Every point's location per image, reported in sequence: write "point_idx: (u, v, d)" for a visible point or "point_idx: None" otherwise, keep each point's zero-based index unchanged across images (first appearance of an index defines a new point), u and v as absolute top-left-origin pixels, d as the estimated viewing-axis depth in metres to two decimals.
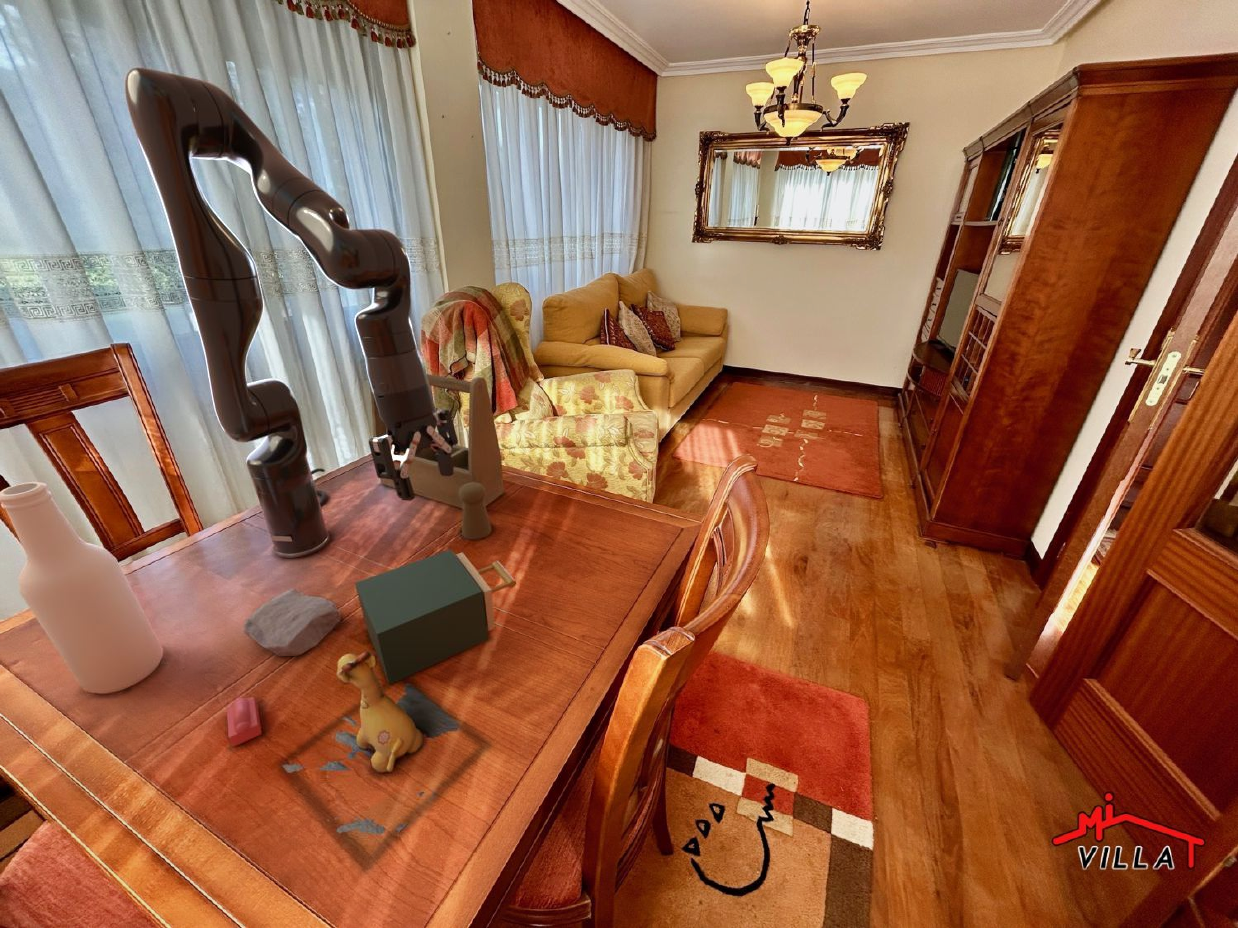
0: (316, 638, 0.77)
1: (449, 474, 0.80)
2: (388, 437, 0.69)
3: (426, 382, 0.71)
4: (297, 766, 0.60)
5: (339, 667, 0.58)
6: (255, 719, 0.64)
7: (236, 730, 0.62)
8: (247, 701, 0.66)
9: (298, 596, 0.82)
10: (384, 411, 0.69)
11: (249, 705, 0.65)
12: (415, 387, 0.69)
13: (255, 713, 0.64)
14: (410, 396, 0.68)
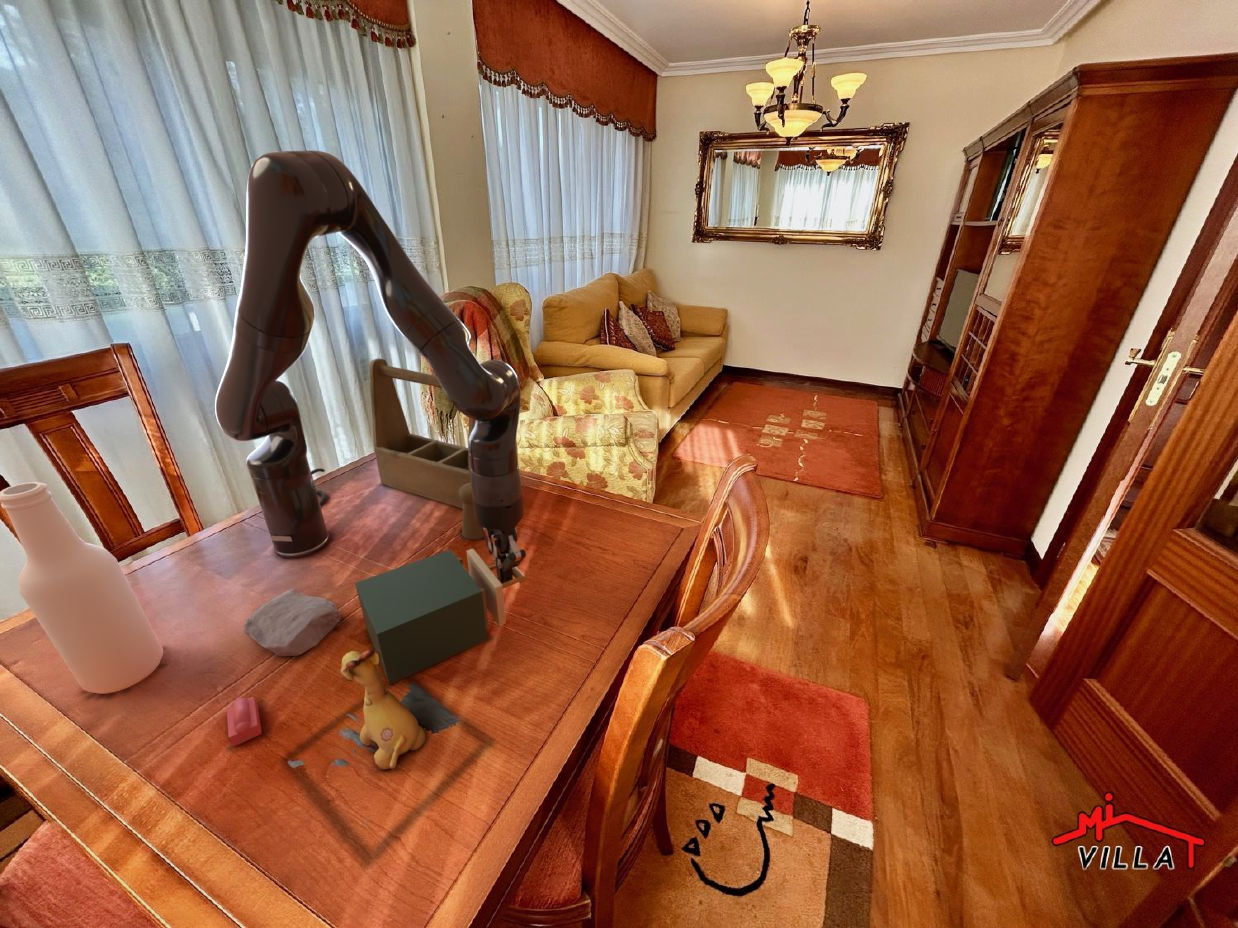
0: (316, 638, 0.77)
1: None
2: (516, 545, 0.77)
3: None
4: (301, 761, 0.61)
5: (343, 664, 0.58)
6: (255, 719, 0.64)
7: (236, 730, 0.62)
8: (247, 701, 0.66)
9: (297, 596, 0.82)
10: (508, 518, 0.76)
11: (249, 705, 0.65)
12: None
13: (255, 713, 0.64)
14: None
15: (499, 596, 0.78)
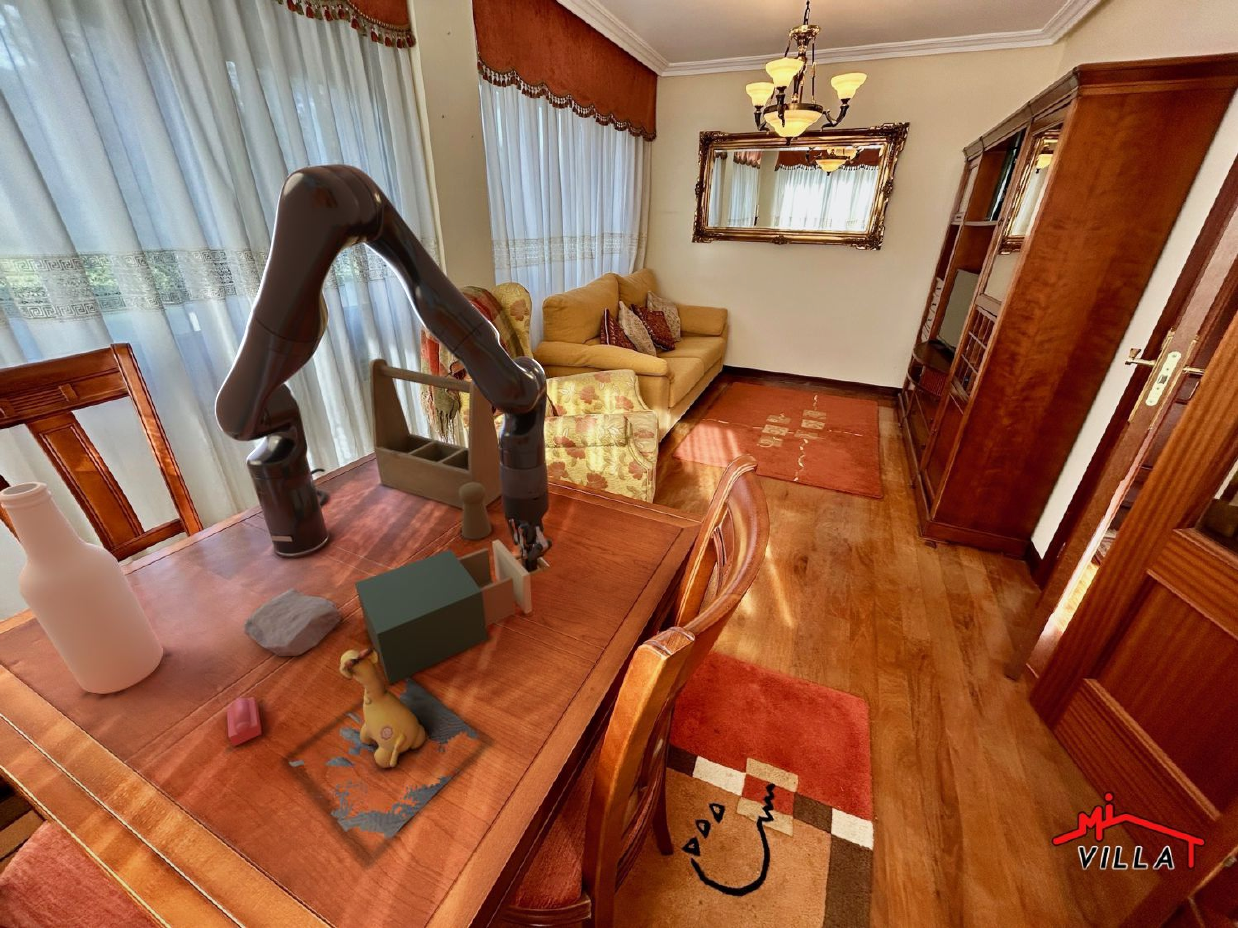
0: (316, 638, 0.77)
1: None
2: None
3: None
4: (302, 761, 0.61)
5: (342, 663, 0.58)
6: (255, 719, 0.64)
7: (236, 730, 0.62)
8: (247, 701, 0.66)
9: (297, 596, 0.82)
10: (535, 510, 0.78)
11: (249, 705, 0.65)
12: None
13: (255, 713, 0.64)
14: None
15: (526, 584, 0.81)
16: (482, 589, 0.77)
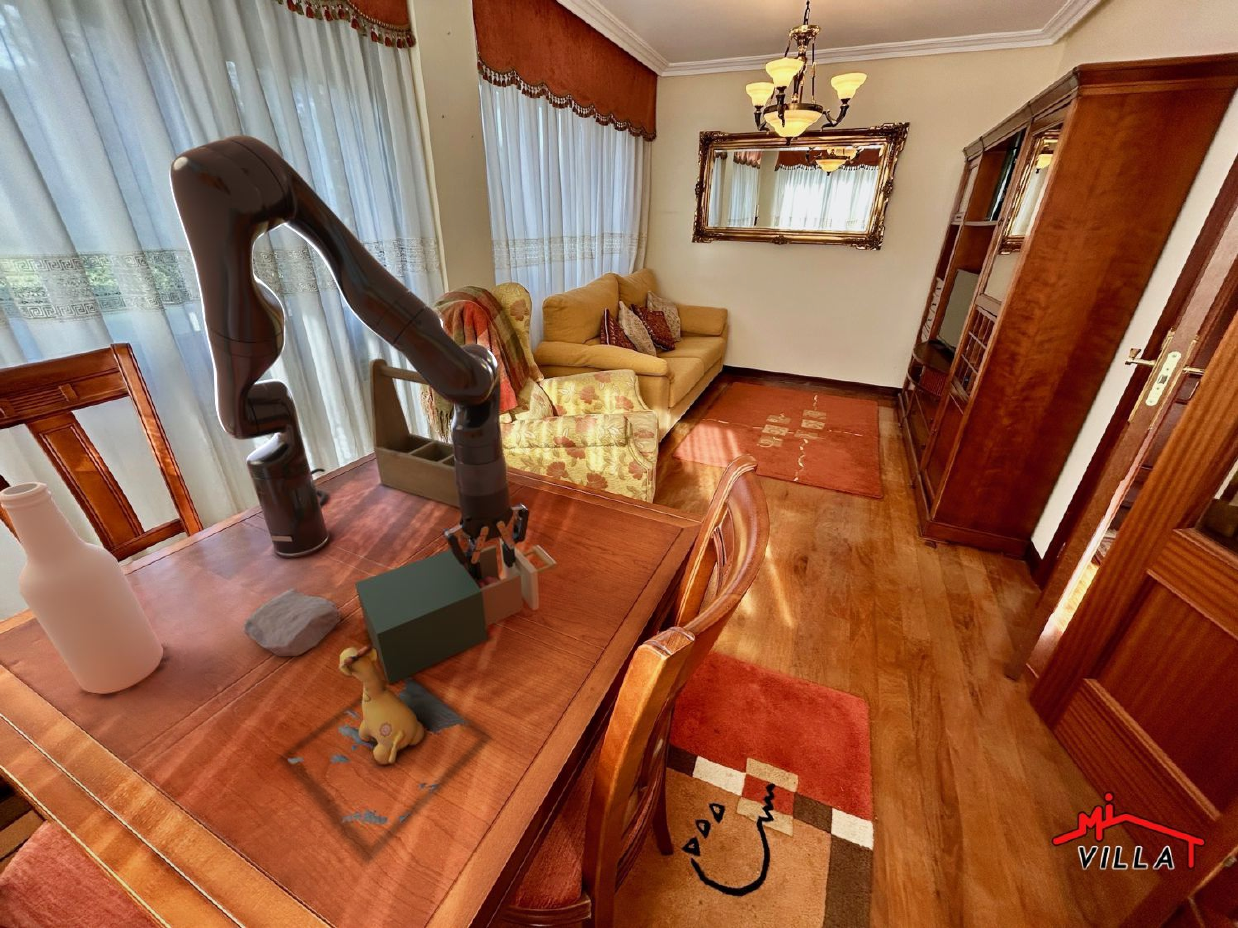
0: (315, 638, 0.77)
1: None
2: None
3: None
4: (300, 758, 0.61)
5: (341, 661, 0.58)
6: None
7: None
8: (493, 579, 0.86)
9: (297, 596, 0.82)
10: None
11: (495, 581, 0.85)
12: None
13: None
14: None
15: (534, 581, 0.81)
16: (490, 586, 0.78)
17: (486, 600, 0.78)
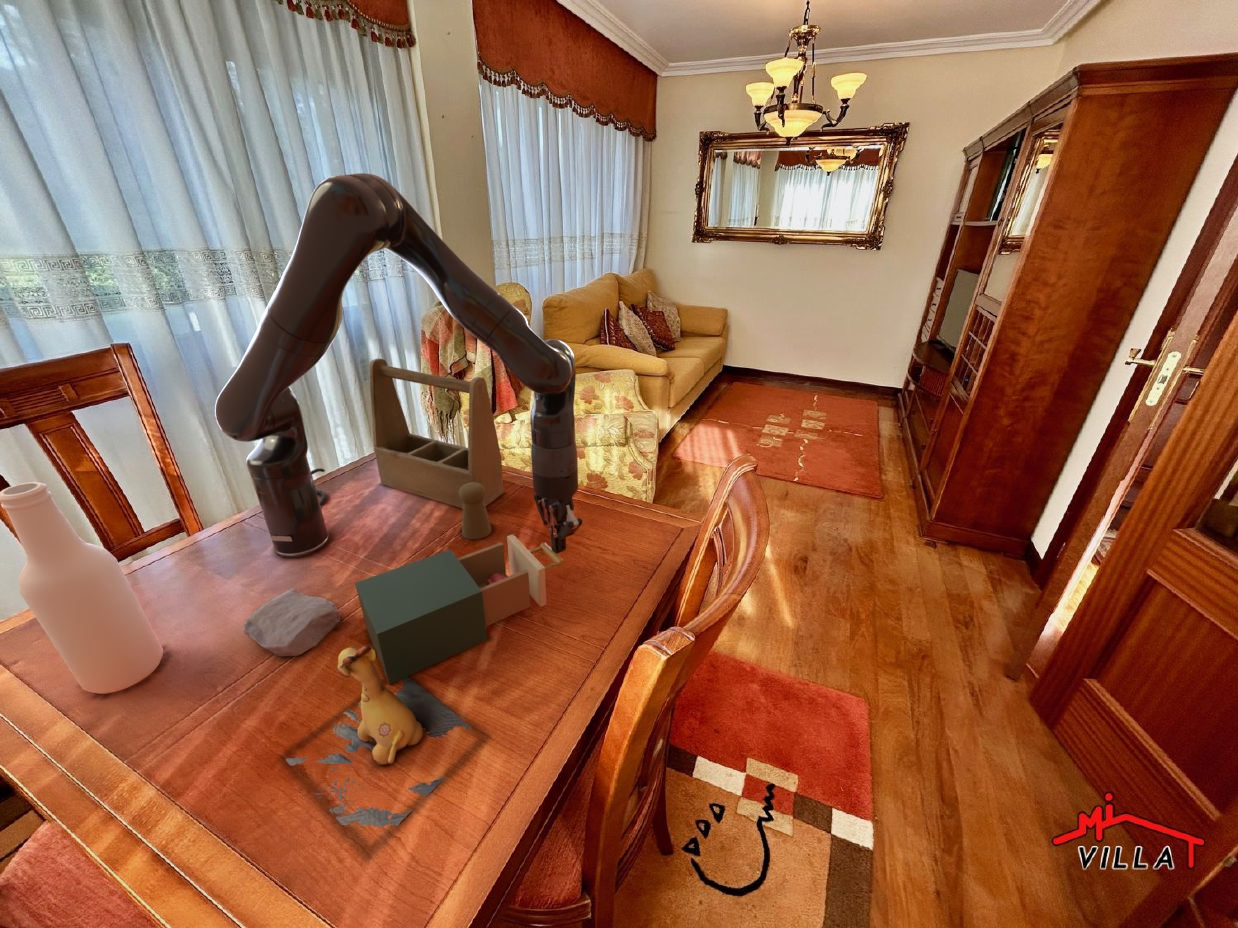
0: (315, 638, 0.77)
1: None
2: (573, 514, 0.83)
3: None
4: (299, 759, 0.61)
5: (340, 661, 0.58)
6: None
7: None
8: (500, 576, 0.87)
9: (297, 596, 0.82)
10: (566, 489, 0.81)
11: (502, 578, 0.86)
12: None
13: None
14: None
15: (541, 578, 0.82)
16: (499, 582, 0.78)
17: (494, 596, 0.79)
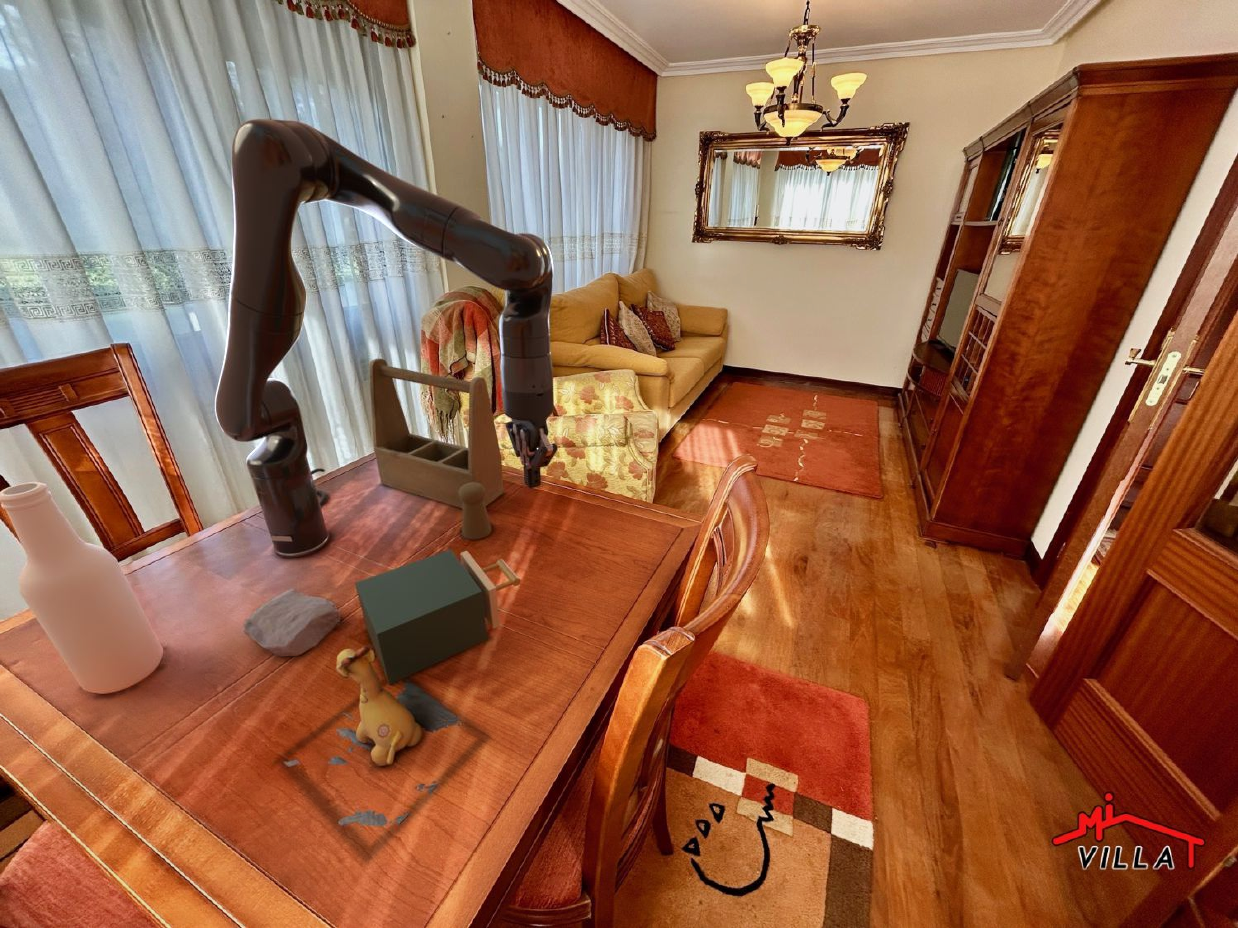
0: (315, 638, 0.77)
1: None
2: (547, 439, 0.74)
3: None
4: (297, 761, 0.61)
5: (338, 662, 0.58)
6: None
7: None
8: None
9: (297, 596, 0.82)
10: (539, 408, 0.72)
11: None
12: None
13: None
14: None
15: (493, 599, 0.77)
16: None
17: None
